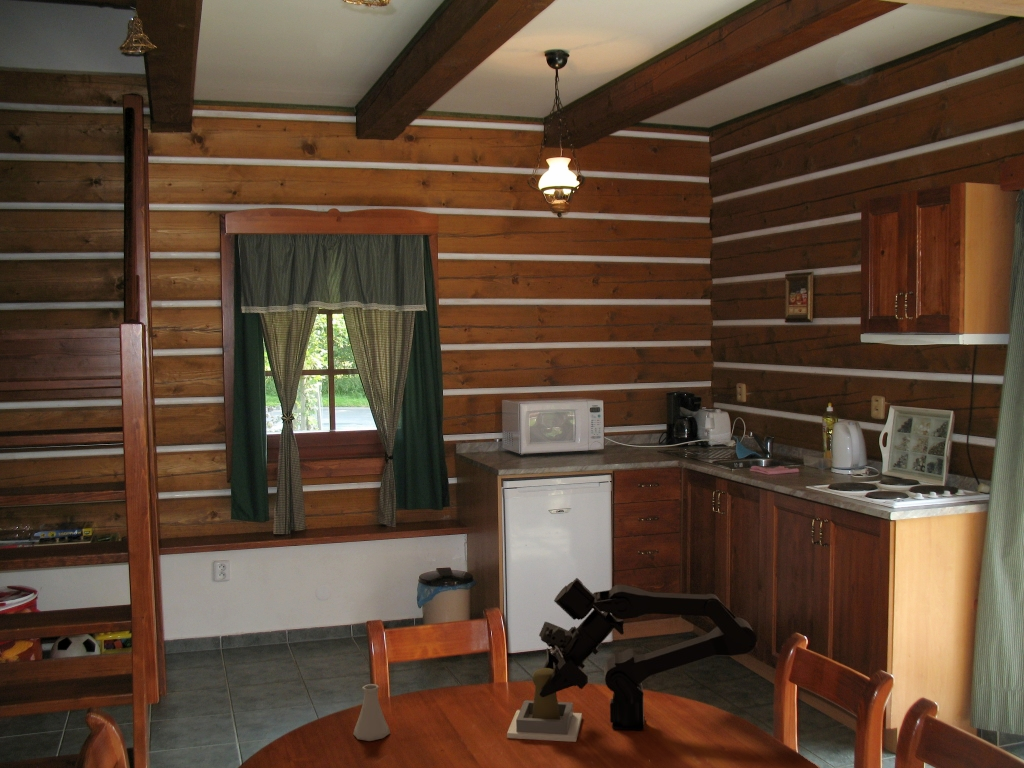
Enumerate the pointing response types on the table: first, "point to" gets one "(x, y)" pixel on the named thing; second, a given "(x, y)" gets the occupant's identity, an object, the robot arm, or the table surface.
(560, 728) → the socket
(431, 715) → the table surface
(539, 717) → the cork
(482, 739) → the table surface
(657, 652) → the robot arm
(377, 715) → the flask
